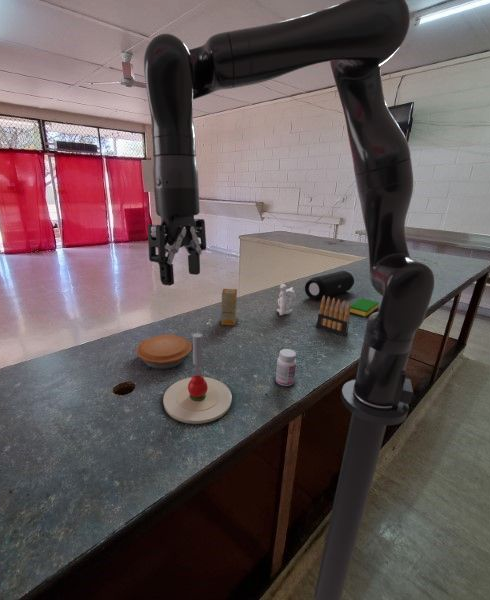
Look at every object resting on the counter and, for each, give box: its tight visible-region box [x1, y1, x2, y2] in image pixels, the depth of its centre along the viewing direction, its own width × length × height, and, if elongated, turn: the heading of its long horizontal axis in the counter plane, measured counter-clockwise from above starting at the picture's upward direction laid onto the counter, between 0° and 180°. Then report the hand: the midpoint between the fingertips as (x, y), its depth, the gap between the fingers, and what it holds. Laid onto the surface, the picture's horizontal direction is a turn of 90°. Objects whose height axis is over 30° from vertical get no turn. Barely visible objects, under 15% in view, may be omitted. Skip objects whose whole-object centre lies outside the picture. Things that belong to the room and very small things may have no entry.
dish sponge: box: [350, 297, 380, 317], centre depth 129 cm, size 7×14×2 cm, turn 137°
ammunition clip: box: [315, 295, 351, 336], centre depth 109 cm, size 11×2×12 cm, turn 49°
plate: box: [162, 376, 233, 425], centre depth 74 cm, size 16×16×1 cm
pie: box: [136, 334, 193, 370], centre depth 90 cm, size 16×16×5 cm
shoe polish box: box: [220, 288, 238, 327], centre depth 113 cm, size 5×5×12 cm
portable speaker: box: [304, 270, 355, 301], centre depth 144 cm, size 26×10×10 cm, turn 127°
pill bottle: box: [275, 348, 297, 387], centre depth 80 cm, size 5×5×8 cm
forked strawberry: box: [188, 332, 208, 401], centre depth 71 cm, size 5×5×16 cm
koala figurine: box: [276, 283, 297, 316], centre depth 123 cm, size 8×7×12 cm
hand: (182, 279), depth 59 cm, fingers open, 8 cm apart
